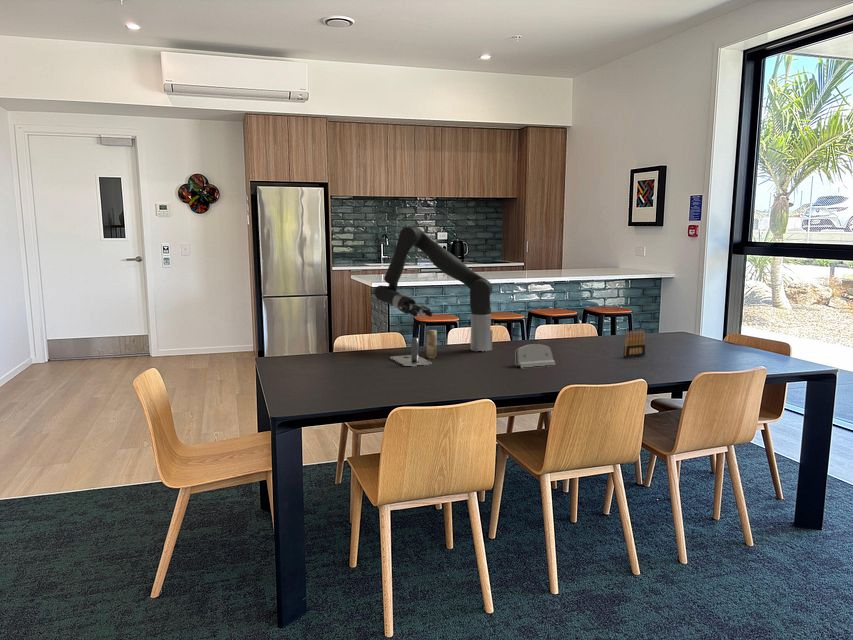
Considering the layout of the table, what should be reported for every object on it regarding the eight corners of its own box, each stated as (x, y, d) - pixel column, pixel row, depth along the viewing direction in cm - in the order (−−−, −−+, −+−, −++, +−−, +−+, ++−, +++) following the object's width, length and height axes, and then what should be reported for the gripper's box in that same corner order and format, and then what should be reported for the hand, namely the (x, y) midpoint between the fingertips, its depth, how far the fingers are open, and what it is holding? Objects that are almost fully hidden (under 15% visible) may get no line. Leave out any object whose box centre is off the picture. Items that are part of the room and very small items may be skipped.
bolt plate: (415, 356, 277) (415, 332, 275) (431, 364, 260) (432, 338, 259) (390, 358, 272) (390, 334, 270) (405, 367, 256) (405, 340, 254)
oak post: (434, 356, 278) (434, 329, 277) (438, 358, 274) (438, 331, 273) (425, 356, 276) (425, 330, 275) (429, 358, 272) (429, 331, 271)
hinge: (520, 368, 254) (517, 344, 255) (515, 370, 258) (512, 346, 260) (556, 365, 259) (552, 342, 261) (550, 367, 264) (547, 344, 265)
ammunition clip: (626, 357, 276) (627, 330, 275) (623, 356, 278) (624, 330, 276) (645, 355, 280) (646, 329, 279) (642, 355, 282) (643, 328, 280)
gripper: (393, 295, 288) (413, 306, 276) (417, 296, 297) (438, 307, 285) (389, 310, 290) (409, 322, 278) (414, 311, 299) (434, 322, 287)
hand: (424, 314), depth 281 cm, fingers open, 8 cm apart
